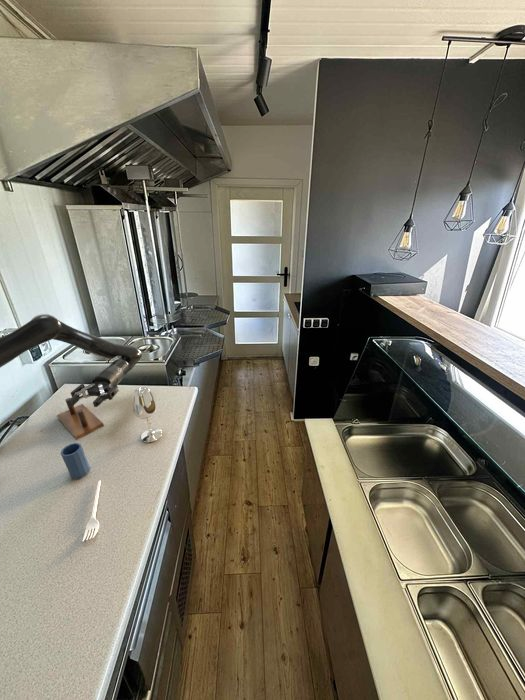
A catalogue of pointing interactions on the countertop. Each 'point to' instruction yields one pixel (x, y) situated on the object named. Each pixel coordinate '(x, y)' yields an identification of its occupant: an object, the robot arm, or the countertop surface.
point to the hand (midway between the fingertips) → (82, 404)
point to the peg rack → (79, 420)
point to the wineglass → (145, 412)
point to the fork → (93, 517)
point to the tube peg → (75, 460)
